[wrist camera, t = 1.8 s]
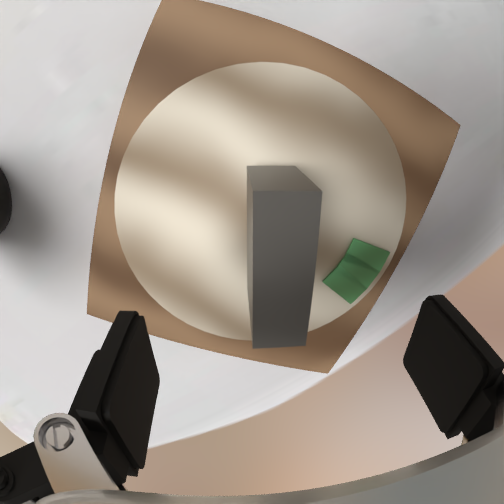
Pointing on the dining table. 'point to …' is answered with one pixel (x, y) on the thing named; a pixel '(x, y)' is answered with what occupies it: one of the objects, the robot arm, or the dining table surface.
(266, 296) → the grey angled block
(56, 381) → the dining table surface
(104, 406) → the robot arm
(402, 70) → the dining table surface
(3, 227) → the travel mug
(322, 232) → the brown wooden flat block
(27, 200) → the dining table surface
